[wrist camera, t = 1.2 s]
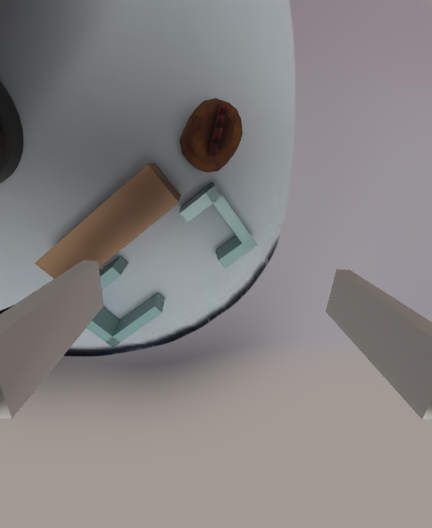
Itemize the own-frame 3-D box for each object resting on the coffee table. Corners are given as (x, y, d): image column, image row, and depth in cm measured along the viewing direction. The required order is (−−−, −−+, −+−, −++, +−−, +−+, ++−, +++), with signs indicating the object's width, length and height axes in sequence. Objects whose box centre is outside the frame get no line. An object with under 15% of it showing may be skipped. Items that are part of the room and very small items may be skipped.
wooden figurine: (211, 179, 31) (227, 193, 17) (174, 150, 29) (159, 141, 15) (242, 132, 29) (288, 106, 15) (204, 99, 27) (218, 36, 14)
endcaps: (73, 293, 36) (60, 308, 32) (212, 182, 31) (215, 185, 27) (120, 330, 39) (113, 347, 36) (250, 236, 35) (257, 244, 31)
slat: (60, 246, 33) (34, 263, 27) (155, 163, 30) (147, 164, 24) (89, 270, 35) (69, 291, 29) (180, 195, 32) (178, 202, 26)
